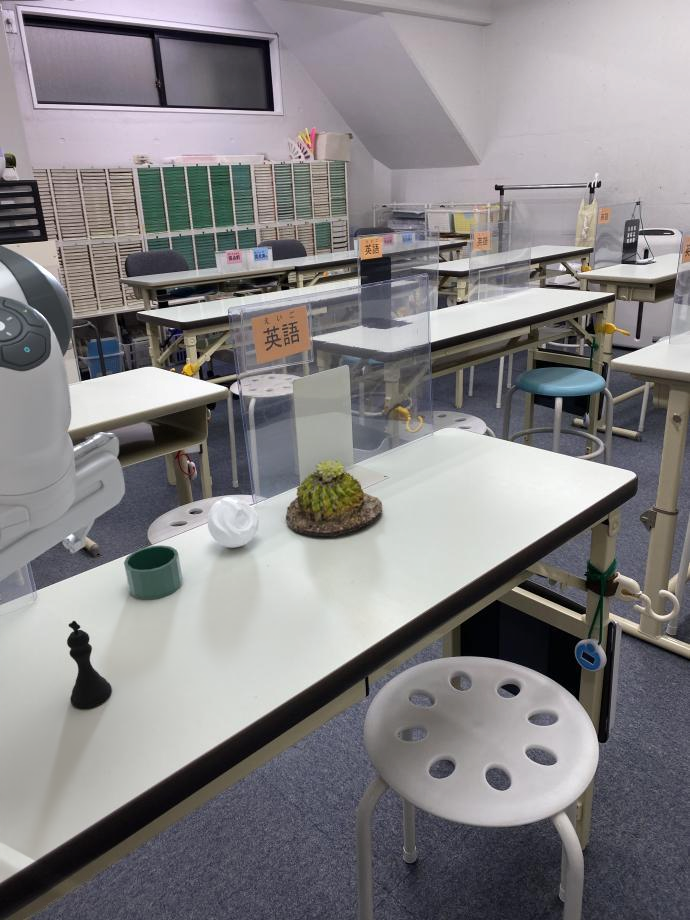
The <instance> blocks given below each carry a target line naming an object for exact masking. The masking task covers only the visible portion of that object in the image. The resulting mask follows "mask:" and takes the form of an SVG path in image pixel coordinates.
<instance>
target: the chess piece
mask: <svg viewBox="0 0 690 920" xmlns="http://www.w3.org/2000/svg"><path fill="white" fill-rule="evenodd" d="M67 626H68V627H69V628H70V629H72V630H73V631H71V632H70V634H69V635H68V637H67V640H66V645H67V647H68V648H69V656H70V658H71V659H72V660H73V661H74V662H75V663H76V665H77V676H76V679H75V683H74V686H73V687H72V690H71V695H70V703H71V705H72V706H73V708H76V709H79V710H90V709H93V708H97V707H98V706H100V705H102V704H104V703H105V702H106V701H108V699H109V698H111V696H112V692H113V688H112V687H113V686H112V684H110V682H108V680H107V679H106V678H105V677H104V676H102V675H100V673H99V672H98V671H97V670H96V669H95V668H94V667H93V665H92V663H91V655H92V651H93V647H92V645H91V643H90V636H89V635H90V634H88V632H86V631H84V630H83V629H81V625H80V624H79V623H77V621H76V620H72V621H71V622H70V623H68V625H67Z"/></svg>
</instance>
